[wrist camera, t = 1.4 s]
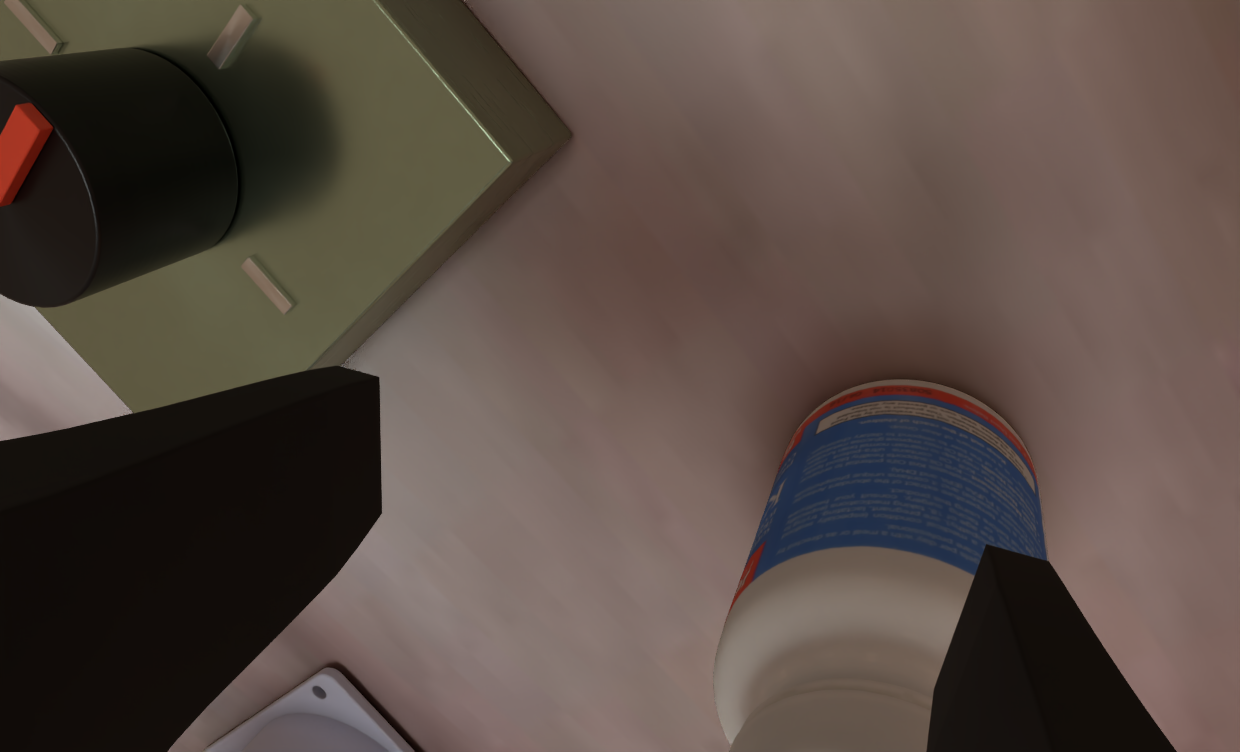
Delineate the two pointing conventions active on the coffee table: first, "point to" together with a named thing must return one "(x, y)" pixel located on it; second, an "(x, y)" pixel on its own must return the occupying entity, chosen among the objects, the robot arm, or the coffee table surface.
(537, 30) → the coffee table surface
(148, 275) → the panel
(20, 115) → the dial
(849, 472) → the pill bottle
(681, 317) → the coffee table surface
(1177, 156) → the coffee table surface
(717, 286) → the coffee table surface
